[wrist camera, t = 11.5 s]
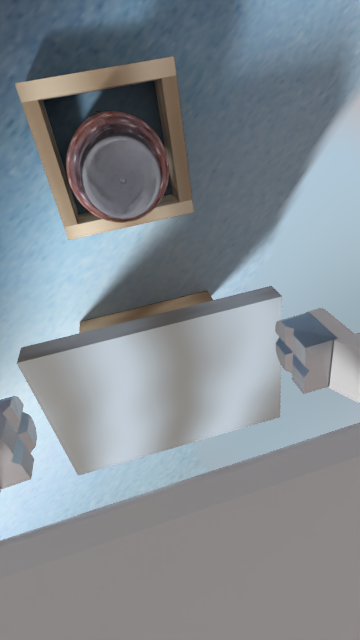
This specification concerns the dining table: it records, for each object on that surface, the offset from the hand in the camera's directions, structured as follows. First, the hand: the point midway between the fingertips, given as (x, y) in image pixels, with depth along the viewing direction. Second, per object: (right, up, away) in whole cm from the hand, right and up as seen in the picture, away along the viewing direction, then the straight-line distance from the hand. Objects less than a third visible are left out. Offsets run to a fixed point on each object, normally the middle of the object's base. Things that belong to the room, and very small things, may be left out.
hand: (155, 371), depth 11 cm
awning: (-3, +6, +22) cm, 23 cm away
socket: (-4, +15, +16) cm, 22 cm away
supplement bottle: (-4, +15, +16) cm, 22 cm away
